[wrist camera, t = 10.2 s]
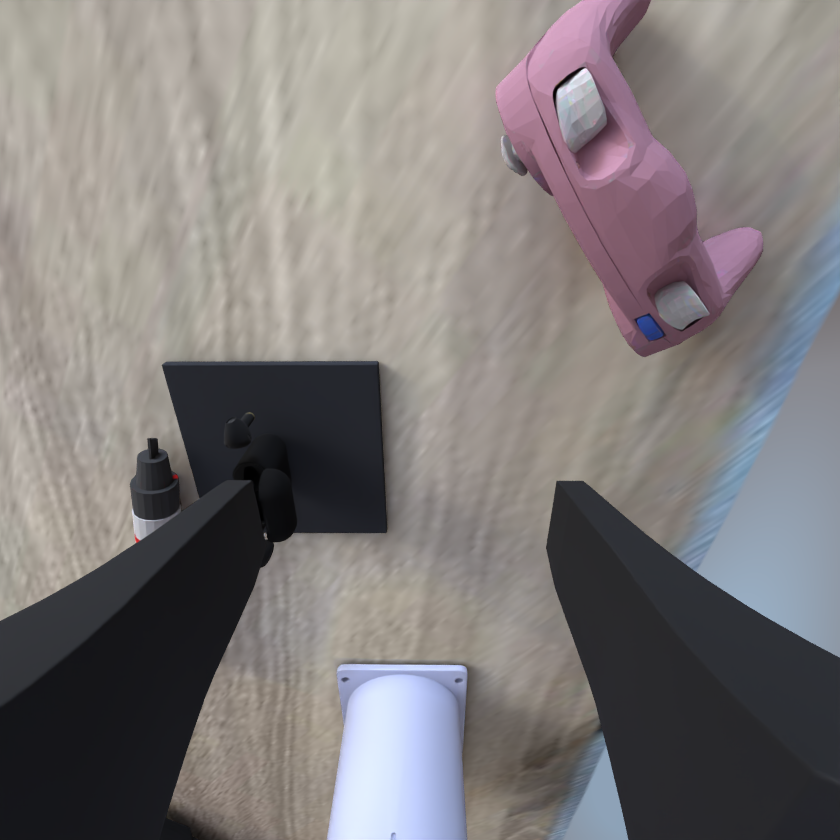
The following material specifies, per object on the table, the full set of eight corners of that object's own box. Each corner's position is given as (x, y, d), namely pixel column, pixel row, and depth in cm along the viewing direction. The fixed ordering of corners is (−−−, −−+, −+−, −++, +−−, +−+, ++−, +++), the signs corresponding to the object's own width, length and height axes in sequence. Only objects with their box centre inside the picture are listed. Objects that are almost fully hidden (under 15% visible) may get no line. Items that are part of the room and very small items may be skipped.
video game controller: (508, 74, 16) (441, 116, 11) (643, -54, 13) (627, -69, 8) (636, 300, 19) (626, 405, 15) (766, 242, 16) (804, 351, 12)
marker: (194, 645, 28) (178, 677, 26) (161, 641, 27) (142, 672, 26) (184, 428, 21) (162, 450, 19) (140, 420, 20) (113, 442, 19)
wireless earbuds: (245, 387, 19) (190, 447, 15) (304, 386, 19) (267, 448, 15) (271, 517, 22) (232, 600, 18) (321, 517, 22) (295, 600, 18)
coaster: (387, 528, 23) (386, 533, 23) (212, 527, 23) (208, 532, 23) (378, 360, 19) (377, 364, 19) (166, 361, 19) (161, 364, 19)
